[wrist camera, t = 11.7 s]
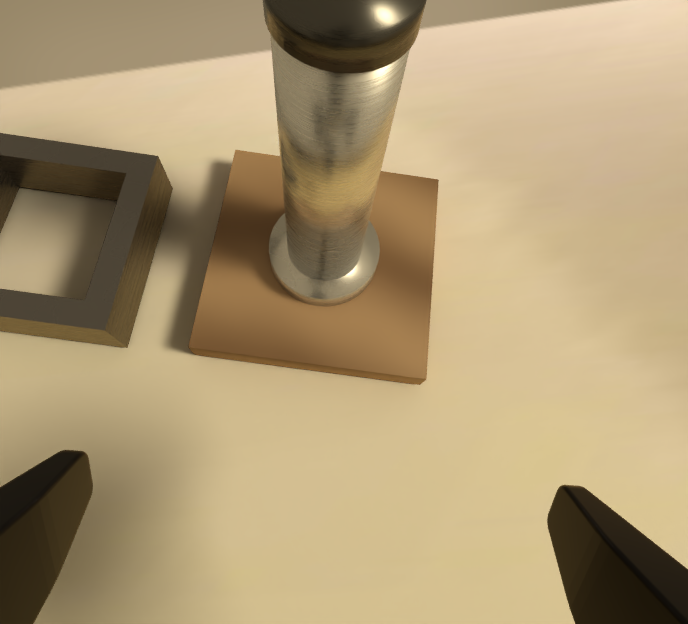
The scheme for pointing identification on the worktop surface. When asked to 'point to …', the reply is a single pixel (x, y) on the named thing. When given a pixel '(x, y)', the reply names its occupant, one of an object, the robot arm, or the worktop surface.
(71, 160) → the holder
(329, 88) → the capped metal cylinder
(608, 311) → the worktop surface
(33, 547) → the robot arm
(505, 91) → the worktop surface
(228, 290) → the walnut pad
